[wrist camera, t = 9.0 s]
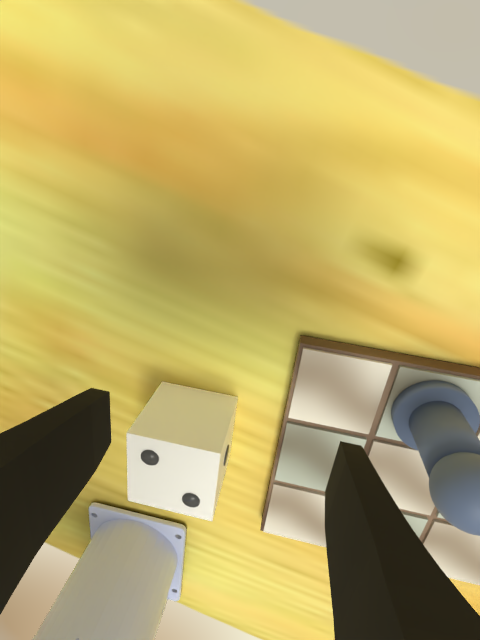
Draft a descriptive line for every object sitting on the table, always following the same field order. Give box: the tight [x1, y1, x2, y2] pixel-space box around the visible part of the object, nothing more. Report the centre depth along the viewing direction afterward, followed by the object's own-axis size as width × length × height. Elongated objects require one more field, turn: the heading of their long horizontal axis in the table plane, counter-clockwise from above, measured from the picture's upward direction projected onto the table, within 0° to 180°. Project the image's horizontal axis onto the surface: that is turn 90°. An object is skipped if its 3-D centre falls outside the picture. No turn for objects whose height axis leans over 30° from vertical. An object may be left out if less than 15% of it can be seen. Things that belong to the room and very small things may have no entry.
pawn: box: [391, 380, 480, 536], centre depth 16 cm, size 4×4×7 cm
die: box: [127, 382, 238, 521], centre depth 21 cm, size 5×5×5 cm
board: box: [261, 335, 480, 585], centre depth 21 cm, size 15×15×1 cm
